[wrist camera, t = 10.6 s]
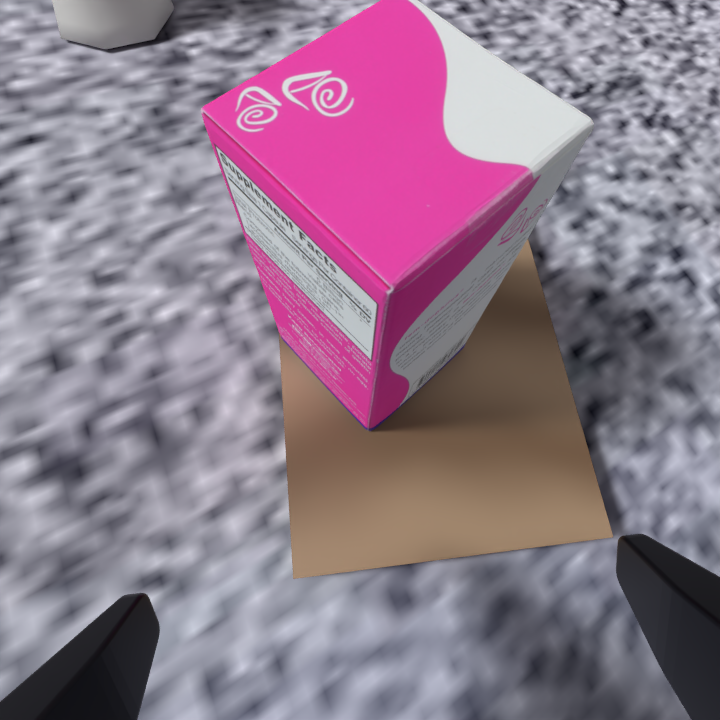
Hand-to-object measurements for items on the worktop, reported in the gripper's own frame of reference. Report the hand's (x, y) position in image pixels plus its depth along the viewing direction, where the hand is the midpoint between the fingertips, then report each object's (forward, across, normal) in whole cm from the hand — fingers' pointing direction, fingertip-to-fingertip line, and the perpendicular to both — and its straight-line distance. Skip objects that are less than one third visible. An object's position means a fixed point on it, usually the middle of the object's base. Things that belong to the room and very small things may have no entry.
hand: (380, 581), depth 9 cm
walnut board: (+14, -2, -1) cm, 14 cm away
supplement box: (+12, 0, -1) cm, 12 cm away
